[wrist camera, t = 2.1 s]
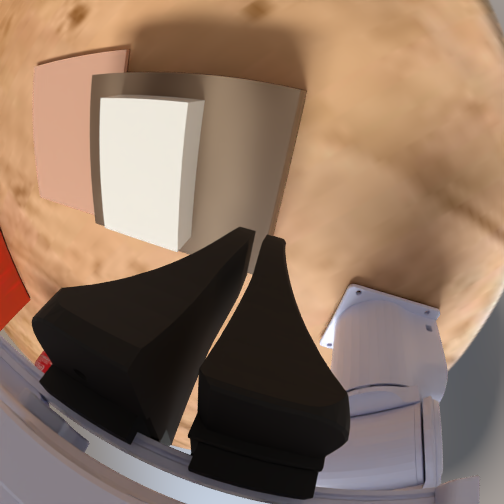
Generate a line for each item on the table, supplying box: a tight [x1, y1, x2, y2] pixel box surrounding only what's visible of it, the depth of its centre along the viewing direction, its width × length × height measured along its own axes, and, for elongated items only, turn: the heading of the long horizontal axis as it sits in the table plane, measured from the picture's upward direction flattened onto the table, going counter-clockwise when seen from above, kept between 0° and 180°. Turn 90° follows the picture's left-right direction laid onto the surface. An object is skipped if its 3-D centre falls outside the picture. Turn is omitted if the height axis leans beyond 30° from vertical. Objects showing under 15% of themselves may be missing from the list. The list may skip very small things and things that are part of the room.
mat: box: [33, 49, 130, 215], centre depth 21 cm, size 14×16×1 cm
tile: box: [100, 95, 205, 252], centre depth 16 cm, size 6×9×2 cm, turn 170°
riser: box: [90, 72, 307, 274], centre depth 18 cm, size 14×12×4 cm
